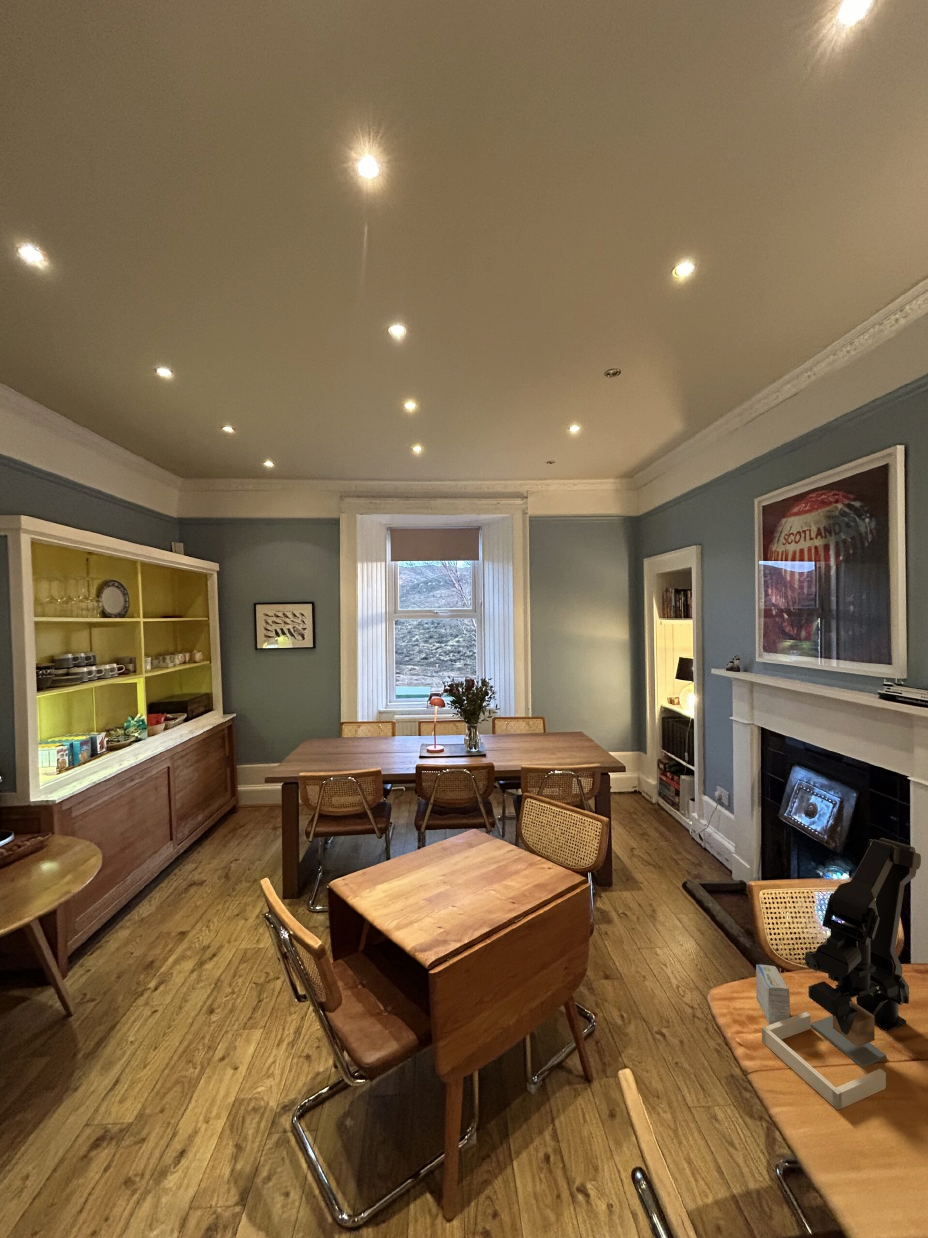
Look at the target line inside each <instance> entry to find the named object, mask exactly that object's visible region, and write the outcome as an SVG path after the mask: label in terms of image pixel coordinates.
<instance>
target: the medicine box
mask: <svg viewBox="0 0 928 1238" xmlns="http://www.w3.org/2000/svg"><path fill="white" fill-rule="evenodd" d="M755 969H756V970H755V978H756V979H755V980H756V983H755V985H756V987H755V988H756V993H755V994H756V1001H757V1003H758V1004H759V1006H760V1008H761V1011H762V1012H763V1015H764V1016H765V1018H766V1020H767V1022H768V1025H771V1024H774V1023H776V1022H779V1021H782V1020H785V1019H788V1018H790V1017H791V1004H790V1003H791V1001H790V998H791V996H790V994H791V993H790V989H789V987H788V985H787V983H786V982H785V980H784V978H783V977H782V975H781V973H780V971H779V969H778V968H777V967H776V966H775V965H769V964H768V965H767V964H756V967H755Z"/></svg>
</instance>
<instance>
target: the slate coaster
mask: <svg viewBox="0 0 928 1238" xmlns="http://www.w3.org/2000/svg"><path fill="white" fill-rule="evenodd" d="M811 1029H813V1030H814V1031H815V1032H817V1033H818V1034H819V1035H820V1036H822V1037H823V1038H824V1039H825V1040H827V1041H828V1042H830V1044H832V1045H833V1046H835V1047H836V1048H837V1049H838V1050H839V1051H841V1052H842V1053H843V1054H845V1055H846V1056H847V1057H848V1058H849V1059H851V1060H852V1061H854V1062H855V1064H857V1065H858V1066H859V1067H860V1068H862V1069H864V1068H866V1067H868V1066H870V1065H871V1066H872V1065H873V1064H875V1063H878V1062H879V1061H882V1060H884V1059H887V1054H886V1053H885V1052H883V1051H882V1050H880V1049H879V1048H877V1047H876V1046H875V1045H874V1044H872V1043H871V1042H869V1043H867V1044H864V1045H862V1046H859V1047H857V1046H855V1045H854V1044H853V1043H852V1042H850V1041H849V1040H848V1039H846V1038H845V1037H844V1036H842V1035H841V1034H840V1033H838V1032H837V1031H836V1030H835V1029H833V1015H832V1014H831V1015H829V1016H827V1017H824V1018H822V1019H819V1020H816V1021H814V1022H811Z"/></svg>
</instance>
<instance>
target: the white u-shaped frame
mask: <svg viewBox="0 0 928 1238" xmlns="http://www.w3.org/2000/svg"><path fill="white" fill-rule="evenodd" d="M811 1020H812V1018H811V1014H810V1013H809V1012H808V1011H804V1012H802V1013H799V1014H796V1015H793V1016H790V1018H788V1019H785V1020H782V1021H779V1022H776V1023H774V1024H771V1025H769V1024H768V1025H765V1026H763V1027H761V1042H762V1043H763V1044H764V1045H765V1046H766V1047H767V1048H768V1049H769V1050H770V1051H772V1052H773V1053H774V1054H775V1055H776V1056H777V1057H778V1058H779V1059H781V1060H782V1062H784V1063H785V1064H786V1065H787V1066H788V1067H789V1068H791V1070H793V1071H794V1072H795V1073H796V1074H798V1076H799V1077H800V1078H802V1080H804V1081H805V1082H806V1083H807V1084H808V1085H809V1086H810V1087H811V1088H813V1089H814V1090H815V1092H817V1093H818V1094H819V1095H821V1097H822V1098H823V1099H824V1100H826V1101H827V1102H828V1103H829V1104H830V1105H832V1107H834V1109H836V1110H837V1111H839V1110H841V1109H844V1108H847V1107H848V1106H850V1105H853V1104H855V1103H857V1102H859V1101H861V1100H864V1099H865V1098H868V1097H870V1096H872V1095H874V1094H876V1093H879V1092H880V1091H881V1092H882V1091H884V1090H885V1089H887V1088H886V1086H887V1082H886V1080H887V1079H886V1078H887V1077H886V1076H887V1073H886V1072H885V1071H884V1070H883V1069H881V1068H877V1069H876V1070H873V1071H871V1072H869V1073H867V1074H865V1075H862V1076H860V1077H858V1078H855V1079H853V1080H851V1081H848V1082H847V1083H844V1084H841V1085H839V1086H837V1087H836V1086H834V1084H832V1083H831V1081H829V1080H828V1079H827V1078H826V1077H825V1076H824V1075H822V1074H821V1073H820V1072H818V1071H817V1070H816V1069H815V1068H814V1067H813V1066H811V1065H810V1064H809V1063H808V1062H807V1061H806V1060H804V1058H803V1057H801V1056H800V1055H799V1054H798V1053H797V1052H796V1051H794V1050H793V1049H792V1048H791V1047H789V1045H787V1043H785V1042H784V1041H783V1040H785V1039H787V1038H789V1037H792V1036H794V1035H798V1034H800V1033H802V1032H806V1031H808V1030H811V1029H812V1027H811V1023H812V1021H811Z"/></svg>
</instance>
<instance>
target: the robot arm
mask: <svg viewBox="0 0 928 1238" xmlns="http://www.w3.org/2000/svg"><path fill="white" fill-rule="evenodd" d="M921 863H922V856H921V853H918V852H916V848H915V847H914V846H912V845H909V844H905V843H901V842H898V841H894V840H891V839H888V838H885V837H880V838H879V839H871V838H870V839H868V842H867V846H866V852H865V853H864V855H863V858H862V859H861V861H860V863H859V865H858V867H857V869H856V870H855V872H854V874H853V876H852V877H851V879H850V880H849V881H847V882H842V883H840V884H839V885H838V886H837V888H836V889H835V890H834V891H833V892H831V893H830V895H829V897H828V900H827V904H826V905H827V906H826V909H825V913H824V917H823V921H822V927H824V928H826V929H829V930H830V935H829V936H828V937H827V938H826V939H825V940H824V941H823V942H822V943H821V944H819V946H817V948H816V950H813V951H812V950H808V951H805V953H804V962H805V964H806V965H805V966H806V967H807V968H808V969H810V970H813V971H815V972H819V973H820V972H821V973H824V974H827V976H828V979H830V980H831V981H832V982H836V983H837V984H836V985H835V986H832V985H831V984H829V983H828V982H826V981H824V980H823V981H821V982H820V981H819V982H816V983H814V984H811V985H809V986H808V987H807V988H808V989H807V990H808V991H807V992H808V998H809V1000H812V1001H813V1002H814V1003H815V1004H817V1005H818V1006H820V1007H821V1008H822V1009H823V1010H825V1011H827V1012H828V1013H829V1014H831V1016H832V1015H833V1016H836V1019H837V1021H838V1024H839V1026H840V1029H841V1031H842V1032H843V1033H844V1034H846V1035H847V1034H848V1033H849V1031H850V1029H851V1026H852V1024H853V1021H854V1019H855V1017H856V1014H857V1010H855V1009H854V1008H852V1007H851V1003H852V1001H853V999H855V1000H856V1004H857V1005H859V1006H860V1007H862V1008H863V1009H865V1010H866V1011H868V1012H869V1013H871V1014H872V1015H873V1016H874V1017H875V1024H876V1025H878V1026H879V1027H881V1028H882V1029H884V1030H885V1031H892V1030H894V1029H896V1028H899V1027H902V1026H904V1025H907V1020H906V1019H904V1018H903V1017H902V1016H900V1015H899V1011H900V1009H899V1006H902V1005H903V1004H906V1005H908V1004H909V1003H910V986H909V983H907V981H906V979H905V978H904V977H903V966H902V964H901V961H900V959H899V957H898V955H897V953H896V948H897V947H896V946H897V941H898V933H899V925H900V919H901V913H902V905H903V899H904V892H905V891H904V890H905V886H906V884H907V885H908V883H909V882H910V881H912V880H913V879H914V878H915V877H916V874H917V870H919V869H920V867H921ZM833 917H834V918H835V919H838V920H840V921H843V922H839V921H837V920H835V919H833Z"/></svg>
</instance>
